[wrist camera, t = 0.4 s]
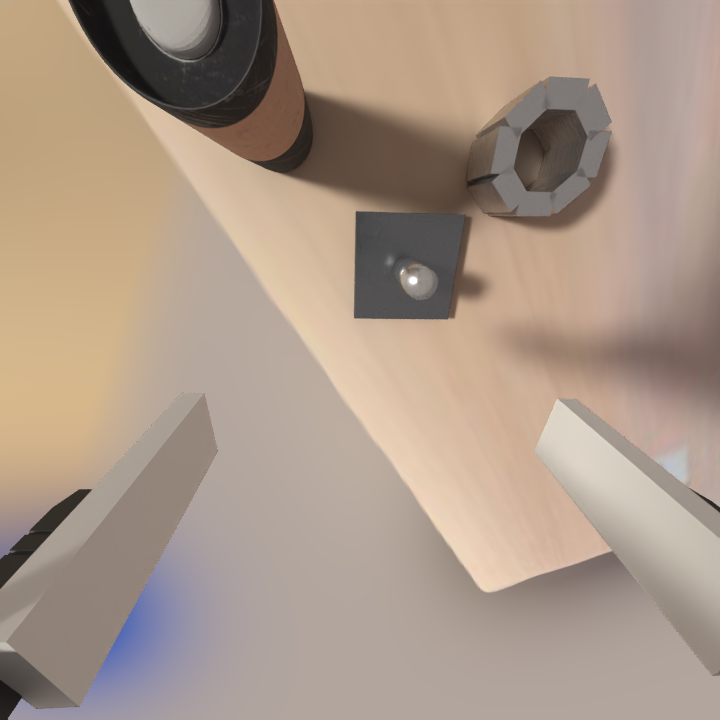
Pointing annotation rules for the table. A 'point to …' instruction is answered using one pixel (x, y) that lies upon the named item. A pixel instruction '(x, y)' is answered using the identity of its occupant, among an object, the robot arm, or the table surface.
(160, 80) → the travel mug
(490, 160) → the ring
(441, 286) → the shaft block
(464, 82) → the table surface
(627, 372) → the table surface
